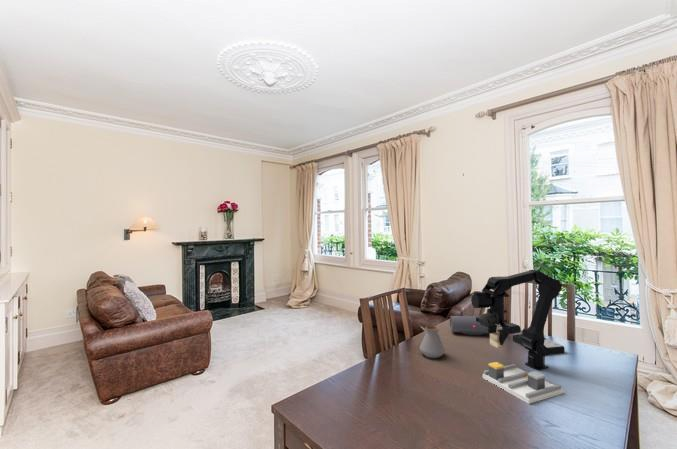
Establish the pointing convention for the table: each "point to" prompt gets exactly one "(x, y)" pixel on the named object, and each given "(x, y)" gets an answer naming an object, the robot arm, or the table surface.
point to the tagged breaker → (496, 370)
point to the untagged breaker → (536, 380)
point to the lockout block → (495, 340)
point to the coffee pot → (431, 342)
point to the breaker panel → (522, 385)
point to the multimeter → (549, 344)
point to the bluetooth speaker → (467, 325)
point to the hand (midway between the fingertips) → (497, 343)
